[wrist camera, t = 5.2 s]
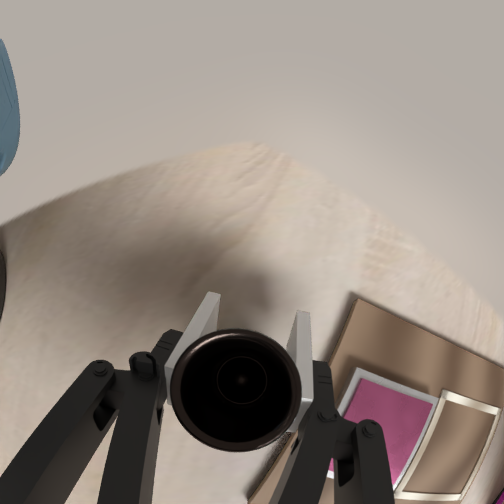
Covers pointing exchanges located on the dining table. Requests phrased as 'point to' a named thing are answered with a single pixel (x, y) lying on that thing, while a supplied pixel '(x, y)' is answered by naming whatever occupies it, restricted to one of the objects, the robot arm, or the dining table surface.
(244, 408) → the gray cylinder
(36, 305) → the dining table surface
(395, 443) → the ink pad
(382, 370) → the walnut board
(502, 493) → the candy bar box
